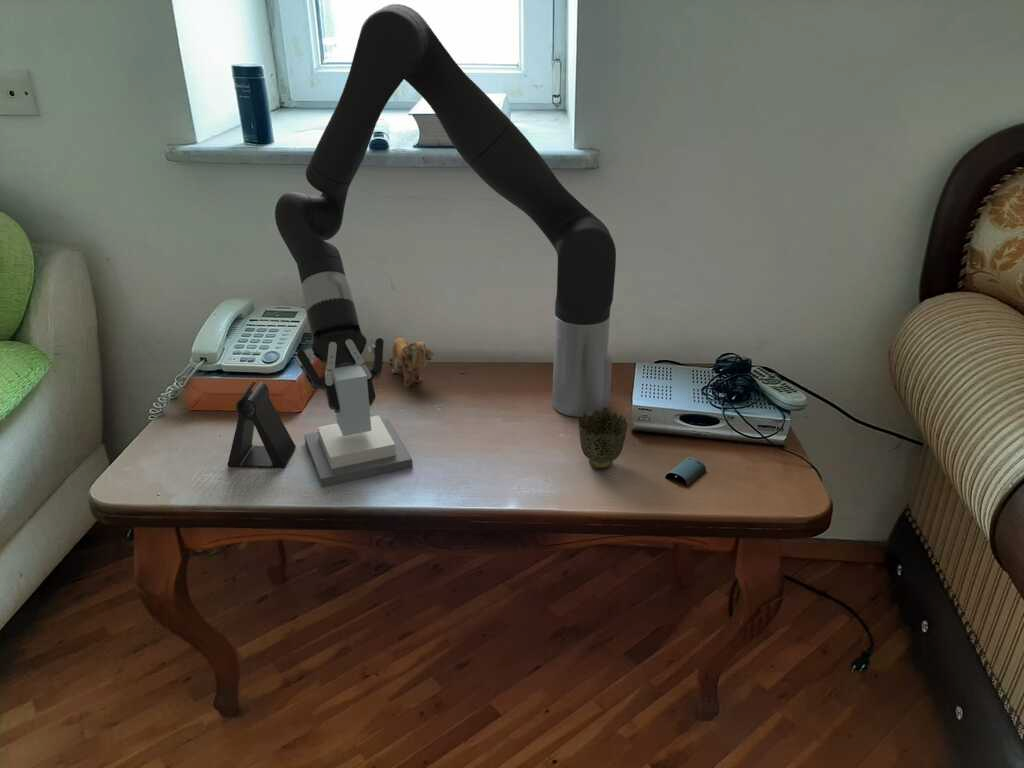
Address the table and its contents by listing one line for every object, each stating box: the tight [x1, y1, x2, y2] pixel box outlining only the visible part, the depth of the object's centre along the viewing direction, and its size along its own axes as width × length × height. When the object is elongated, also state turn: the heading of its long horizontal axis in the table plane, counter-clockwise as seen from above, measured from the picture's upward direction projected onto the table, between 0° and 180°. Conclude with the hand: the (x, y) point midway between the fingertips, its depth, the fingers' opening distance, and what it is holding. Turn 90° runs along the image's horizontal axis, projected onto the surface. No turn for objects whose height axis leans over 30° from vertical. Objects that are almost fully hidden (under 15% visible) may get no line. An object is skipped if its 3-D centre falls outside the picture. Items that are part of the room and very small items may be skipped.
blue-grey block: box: [332, 365, 371, 436], centre depth 120 cm, size 4×4×10 cm
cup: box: [577, 408, 629, 471], centre depth 120 cm, size 8×7×8 cm
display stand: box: [303, 414, 414, 488], centre depth 124 cm, size 14×14×4 cm
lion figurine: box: [389, 337, 435, 387], centre depth 148 cm, size 15×5×9 cm, turn 36°
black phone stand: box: [227, 381, 296, 469], centre depth 121 cm, size 9×6×12 cm, turn 88°
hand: (354, 407), depth 120 cm, fingers closed on blue-grey block, 4 cm apart
